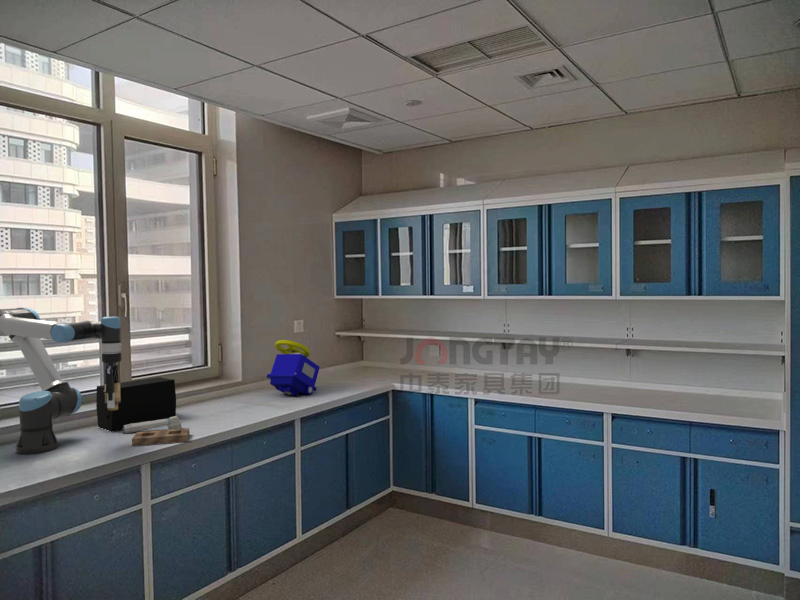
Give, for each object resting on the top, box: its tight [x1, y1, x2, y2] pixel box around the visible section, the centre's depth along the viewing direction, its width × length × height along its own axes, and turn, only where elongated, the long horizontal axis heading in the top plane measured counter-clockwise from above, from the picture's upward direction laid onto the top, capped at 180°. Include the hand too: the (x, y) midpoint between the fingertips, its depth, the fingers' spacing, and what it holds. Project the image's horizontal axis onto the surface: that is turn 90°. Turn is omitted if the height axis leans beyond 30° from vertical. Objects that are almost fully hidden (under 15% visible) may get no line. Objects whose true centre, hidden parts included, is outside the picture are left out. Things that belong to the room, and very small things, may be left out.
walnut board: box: [131, 427, 191, 447], centre depth 259 cm, size 22×12×3 cm, turn 104°
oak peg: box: [104, 382, 121, 411], centre depth 254 cm, size 6×6×11 cm
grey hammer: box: [122, 415, 182, 434], centre depth 276 cm, size 5×7×25 cm
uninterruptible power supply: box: [95, 376, 177, 433], centre depth 291 cm, size 16×34×20 cm, turn 141°
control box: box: [266, 339, 321, 397], centre depth 361 cm, size 26×27×30 cm
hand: (112, 406), depth 254 cm, fingers closed on oak peg, 6 cm apart
